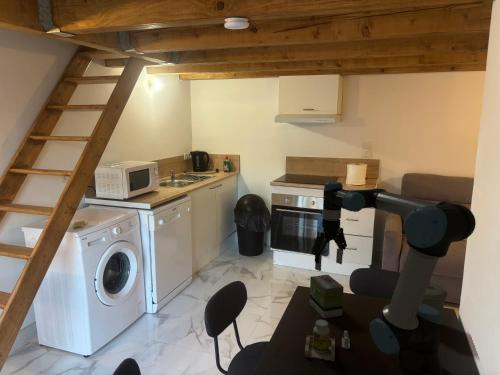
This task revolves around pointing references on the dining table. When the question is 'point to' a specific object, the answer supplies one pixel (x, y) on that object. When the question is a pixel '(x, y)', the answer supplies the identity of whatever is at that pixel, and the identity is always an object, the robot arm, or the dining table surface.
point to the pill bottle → (321, 336)
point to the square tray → (313, 354)
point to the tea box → (326, 296)
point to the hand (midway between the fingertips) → (328, 266)
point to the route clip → (346, 341)
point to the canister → (435, 297)
